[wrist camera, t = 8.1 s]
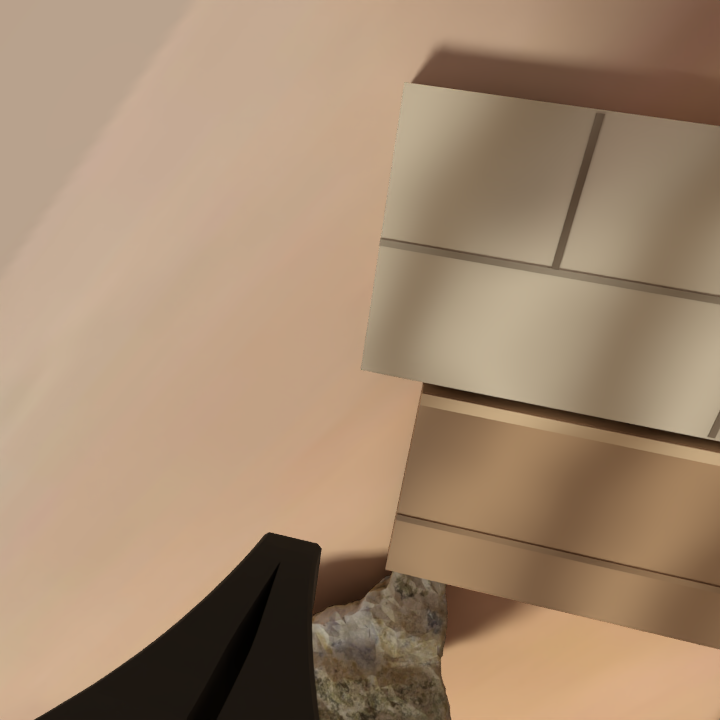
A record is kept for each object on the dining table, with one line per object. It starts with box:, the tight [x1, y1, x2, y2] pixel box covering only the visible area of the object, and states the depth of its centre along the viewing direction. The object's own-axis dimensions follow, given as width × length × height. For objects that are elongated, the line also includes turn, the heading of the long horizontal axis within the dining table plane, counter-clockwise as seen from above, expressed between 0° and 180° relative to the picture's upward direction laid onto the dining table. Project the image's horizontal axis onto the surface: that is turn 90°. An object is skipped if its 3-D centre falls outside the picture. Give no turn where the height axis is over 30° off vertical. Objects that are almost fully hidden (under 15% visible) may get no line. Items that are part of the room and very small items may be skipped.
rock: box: [312, 571, 451, 720], centre depth 25 cm, size 11×6×10 cm
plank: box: [385, 382, 720, 649], centre depth 22 cm, size 15×9×2 cm, turn 82°
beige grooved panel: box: [361, 82, 720, 441], centre depth 18 cm, size 20×10×2 cm, turn 82°
